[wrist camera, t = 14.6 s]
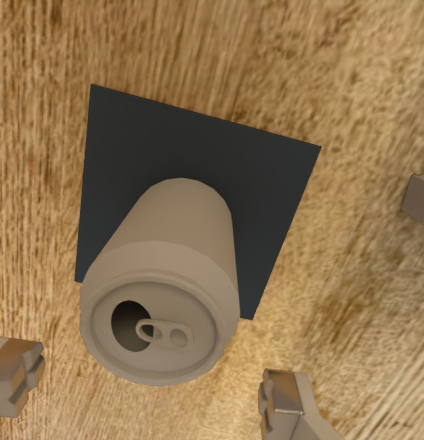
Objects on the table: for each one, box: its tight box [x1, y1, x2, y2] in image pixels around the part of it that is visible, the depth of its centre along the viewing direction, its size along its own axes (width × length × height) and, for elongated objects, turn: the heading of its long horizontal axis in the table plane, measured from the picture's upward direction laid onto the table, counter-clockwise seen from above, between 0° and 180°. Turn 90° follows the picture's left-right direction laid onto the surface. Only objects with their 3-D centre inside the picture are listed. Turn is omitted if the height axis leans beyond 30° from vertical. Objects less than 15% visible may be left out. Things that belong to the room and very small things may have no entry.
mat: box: [75, 84, 321, 320], centre depth 24 cm, size 16×16×1 cm
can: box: [80, 178, 240, 386], centre depth 18 cm, size 8×8×12 cm
